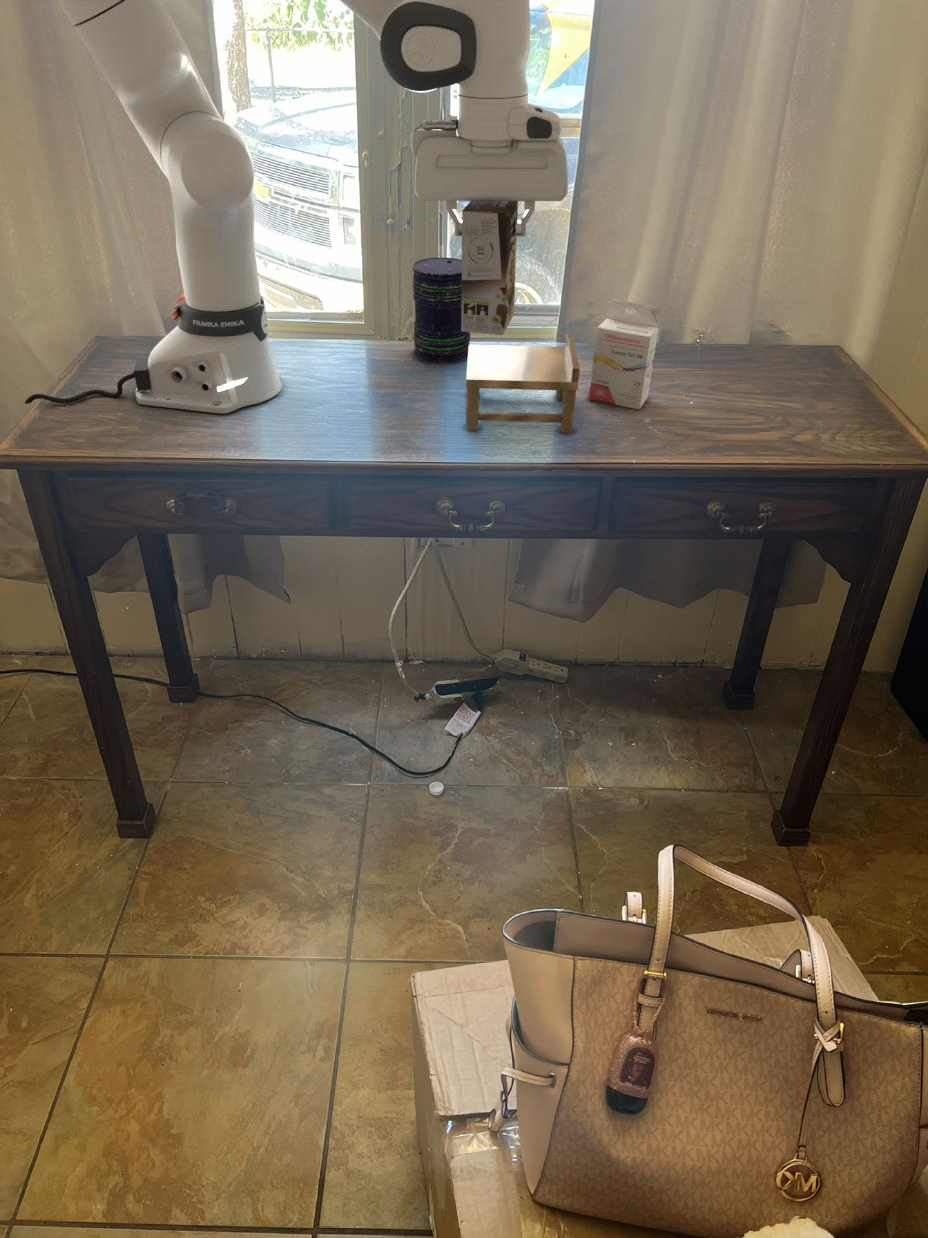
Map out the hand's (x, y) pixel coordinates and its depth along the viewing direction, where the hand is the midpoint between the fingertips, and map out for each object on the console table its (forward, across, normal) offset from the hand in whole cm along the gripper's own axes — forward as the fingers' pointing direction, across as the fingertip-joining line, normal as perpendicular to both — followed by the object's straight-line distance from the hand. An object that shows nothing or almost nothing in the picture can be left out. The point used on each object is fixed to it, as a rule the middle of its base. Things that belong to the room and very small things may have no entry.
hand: (490, 235), depth 121 cm
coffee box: (+12, 0, 0) cm, 12 cm away
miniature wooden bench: (+26, +5, 0) cm, 26 cm away
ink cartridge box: (+26, +21, +6) cm, 34 cm away
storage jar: (+26, -8, +24) cm, 36 cm away
